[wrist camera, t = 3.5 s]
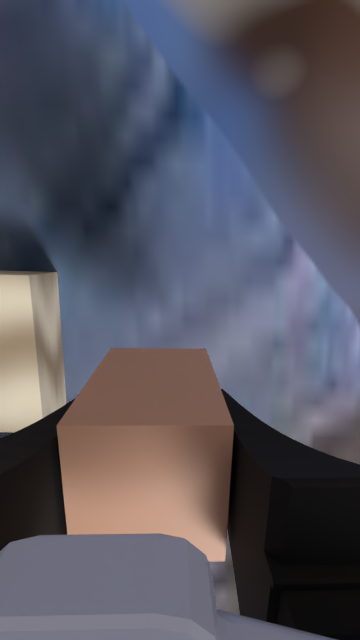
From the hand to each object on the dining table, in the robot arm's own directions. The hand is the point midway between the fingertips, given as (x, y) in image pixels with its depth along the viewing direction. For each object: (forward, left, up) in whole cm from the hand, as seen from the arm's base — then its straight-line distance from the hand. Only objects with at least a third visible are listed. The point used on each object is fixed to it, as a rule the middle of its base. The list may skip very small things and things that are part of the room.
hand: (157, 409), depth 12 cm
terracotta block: (0, 0, -2) cm, 2 cm away
